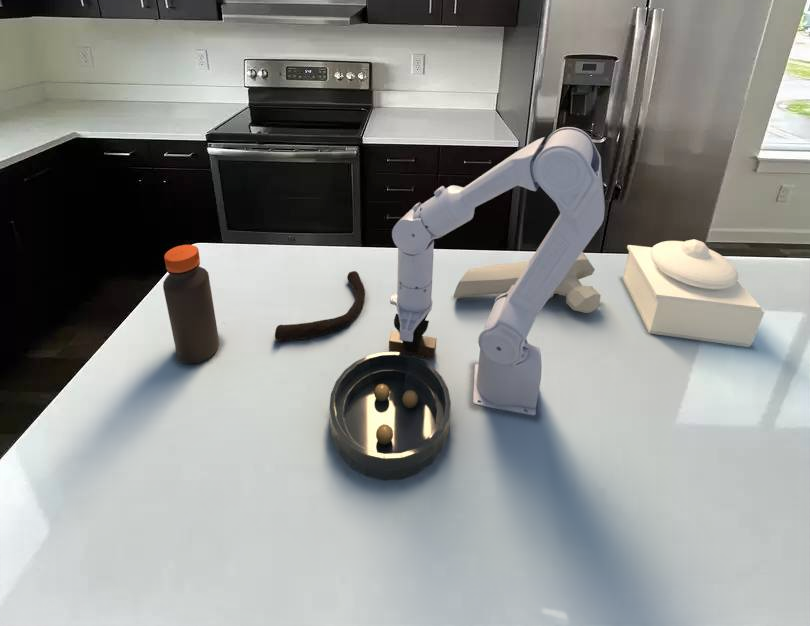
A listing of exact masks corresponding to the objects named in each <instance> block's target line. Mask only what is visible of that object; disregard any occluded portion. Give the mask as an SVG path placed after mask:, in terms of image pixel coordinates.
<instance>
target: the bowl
mask: <svg viewBox="0 0 810 626" xmlns="http://www.w3.org/2000/svg"><path fill="white" fill-rule="evenodd" d="M379 384H385V385H387V386H388V388H389V391H390V394H389V397H388V399H387V400H385V401H378V400H377V399H376V398H375V395H374V390H375V388H376V386H378V385H379ZM408 390H412V391H414V392H415V393H416V394H417V396H418V402H417V405H416V406H415V407H413V408H407V407H406V406H405V405H404V404H403V401H402V397H403V394H404V393H405V392H406V391H408ZM451 404H452V402H451V396H450V392H449V388H448V386H447V384H446V382H445V380H444V378H443V376H442V375H441V374H440V373H439V372H438V371H437V370H436V369H435V368H434V367H433V366H432V364H429V363H428V362H426V361H425V360H424V359H422V358H421V357H419V356H413V355H410V354H406V353H400V352H389V351H382V352H381V351H380V352H377V353H372V354H368V355H366V356H364V357H362V358H360V359H358V360H356V361H354V362H353V363H352V364H351V365H349V366H348V367H347V368H345V369H344V370H343V372H341V374H340V375H339V377H338V378H337V379H336V381H335V383H334V385H333V387H332V390H331V393H330V399H329V406H328V407H329V411H328V412H329V428H330V429H329V430H330V435H331V439H332V443H333V445H334V447H335V449H336V451H337V453H338V455H339V456H340V458H341V459H342V460H343V461H344V462H345V463H346V464H347V465H348V466H349V467H350V468H351V469H352V470H354V471H355V472H358V473H359V474H362V475H363V476H365V477H368V478H373V479H377V480H381V481H395V480H404V479H406V478H409V477H411V476H415V475H417V474H419V473H420V472H422V471H423V470H425V469H427V468H428V467H429V466H431V465H432V464H433V463H434V461H435V460H436V459H437V458H438V456H439V455H440V454H441V453H442V451H443V449H444V447H445V445H446V442H447V440H448V436H449V429H450V417H451V407H452V405H451ZM383 424H386V425H389V426H390V427H391V428H392V430H393V438H392V440H391V442H390V443H389V444H386V445H383V444H380V443H379V442H378V440H377V438H376V431H377V429H378V428H379V426H381V425H383Z"/></svg>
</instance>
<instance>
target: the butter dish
mask: <svg viewBox="0 0 810 626" xmlns="http://www.w3.org/2000/svg"><path fill="white" fill-rule="evenodd" d="M626 249H627V251H628V255H627V259H626V263H625V266H624V272H623V275H622V276H623V277H622V280H623V282H624V285H625V287H626V289H627V290H628V293H629V295H630V297H631V300H632V301H633V304H634V305H635V307H636V309H637V311H638V313H639V315H640V317H641V319H642V321H643V324H644V325H645V327H646V329H647V331H648V333H649V334H652V335H658V336H666V337H673V338H680V339H687V340H695V341H702V342H710V343H716V344H723V345H730V346H737V347H744V348H751V347H752V345H753V342H754V339H755V337H756V334H757V332H758V329H759V327H760V324H761V322H762V319H763V316H764V314H765V310H764V309H762V307H761V305H759V303H758V302H757V300H755V299H754V298H753V296H752V295H750V293H749V292H748V291H747V290H746V288H744V287H743V285H742V284H741V283H740V282H739V281H738V280H739V273H738V269H736V267H735V266H734V264H733V263H732V262H731V261H730V260H729V259H727V258H726V257H724V256H723V255H721V254H720V253H718V252H717V251H715V250H713V249H710V248H709V247H708V246H707V245H706V244H705V242H704V241H701V240H698V239H689V240H685V241H682V240H665V241H661V242H658V243H656V244H654V245H653V246H652V247H651V246H642V245H634V244H627V246H626Z"/></svg>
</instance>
